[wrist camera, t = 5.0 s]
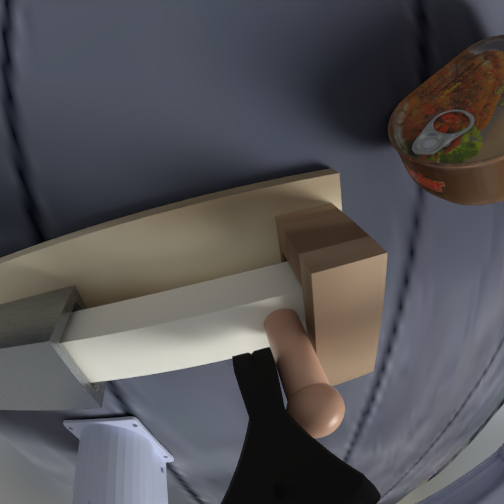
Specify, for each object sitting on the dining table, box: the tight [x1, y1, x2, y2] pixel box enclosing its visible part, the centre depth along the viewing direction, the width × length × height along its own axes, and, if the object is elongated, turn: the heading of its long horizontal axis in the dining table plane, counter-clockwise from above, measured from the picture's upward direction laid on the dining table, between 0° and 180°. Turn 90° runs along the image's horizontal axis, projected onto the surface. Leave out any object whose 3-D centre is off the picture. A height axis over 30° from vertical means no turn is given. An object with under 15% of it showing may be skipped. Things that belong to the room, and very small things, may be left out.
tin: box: [388, 35, 504, 205], centre depth 10 cm, size 15×3×8 cm, turn 130°
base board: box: [0, 168, 342, 309], centre depth 16 cm, size 10×26×1 cm, turn 100°
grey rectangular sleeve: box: [0, 285, 106, 411], centre depth 14 cm, size 5×10×4 cm, turn 100°
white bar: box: [60, 261, 345, 438], centre depth 12 cm, size 3×16×8 cm, turn 100°
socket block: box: [275, 204, 387, 386], centre depth 14 cm, size 7×3×5 cm, turn 10°
